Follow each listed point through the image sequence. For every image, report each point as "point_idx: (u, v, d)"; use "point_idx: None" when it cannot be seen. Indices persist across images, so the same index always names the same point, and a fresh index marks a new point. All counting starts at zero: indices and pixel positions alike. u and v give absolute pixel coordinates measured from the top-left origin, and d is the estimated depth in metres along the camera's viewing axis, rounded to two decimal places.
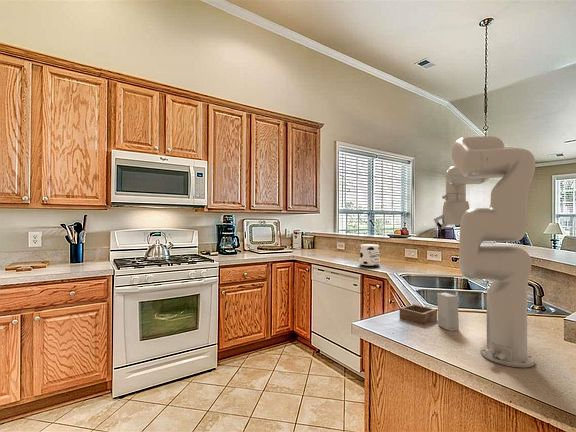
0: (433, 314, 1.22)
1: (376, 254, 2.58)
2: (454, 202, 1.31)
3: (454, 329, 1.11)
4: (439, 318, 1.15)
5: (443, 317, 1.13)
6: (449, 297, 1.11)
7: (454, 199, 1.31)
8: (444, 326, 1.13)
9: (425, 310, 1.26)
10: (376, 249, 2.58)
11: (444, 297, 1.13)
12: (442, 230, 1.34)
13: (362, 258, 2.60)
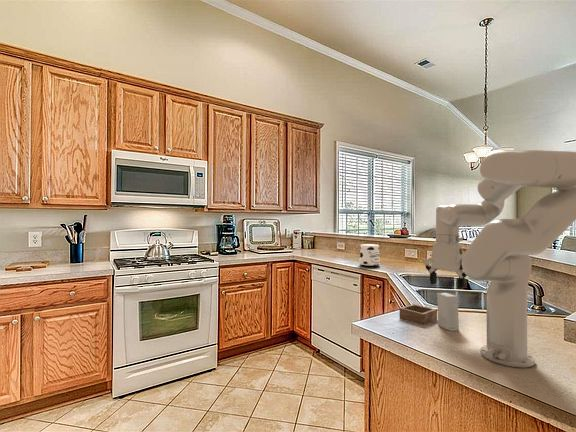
0: (433, 314, 1.22)
1: (376, 254, 2.58)
2: None
3: (454, 329, 1.11)
4: (439, 318, 1.15)
5: (443, 317, 1.13)
6: (449, 297, 1.11)
7: None
8: (444, 326, 1.13)
9: (425, 310, 1.26)
10: (376, 249, 2.58)
11: (444, 297, 1.13)
12: None
13: (362, 258, 2.60)
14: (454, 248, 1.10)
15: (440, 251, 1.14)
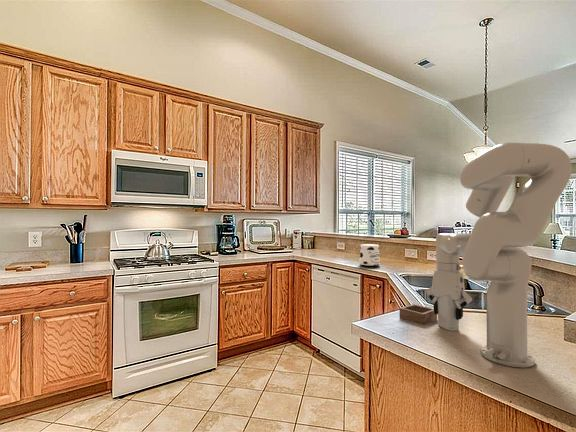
0: (433, 314, 1.22)
1: (376, 254, 2.58)
2: None
3: (454, 329, 1.11)
4: (439, 318, 1.15)
5: (443, 317, 1.13)
6: (449, 297, 1.11)
7: None
8: (444, 326, 1.13)
9: (425, 310, 1.26)
10: (376, 249, 2.58)
11: (444, 297, 1.13)
12: None
13: (362, 258, 2.60)
14: (455, 277, 1.10)
15: (440, 279, 1.14)
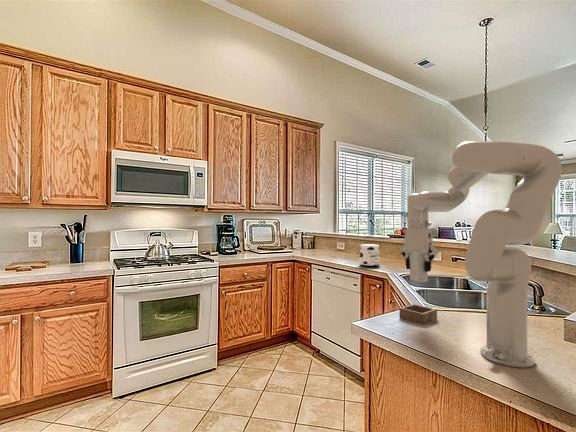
0: (433, 314, 1.22)
1: (376, 254, 2.58)
2: None
3: (423, 280, 1.21)
4: (410, 272, 1.26)
5: (414, 270, 1.23)
6: (418, 251, 1.21)
7: None
8: (414, 278, 1.23)
9: (425, 310, 1.26)
10: (376, 249, 2.58)
11: (414, 252, 1.23)
12: None
13: (362, 258, 2.60)
14: (424, 232, 1.20)
15: (411, 236, 1.24)
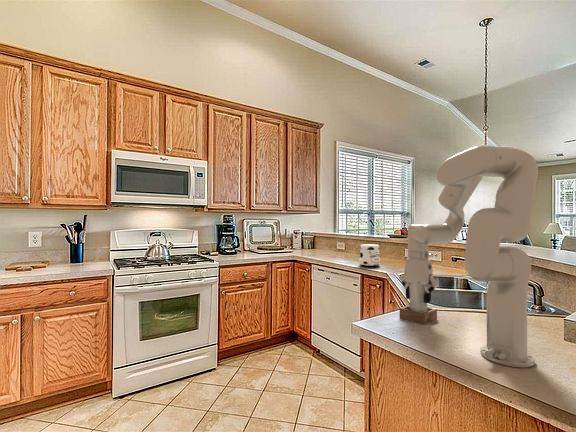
0: (433, 314, 1.22)
1: (376, 254, 2.58)
2: None
3: (423, 312, 1.21)
4: (410, 302, 1.26)
5: (414, 301, 1.23)
6: (418, 282, 1.21)
7: None
8: (414, 309, 1.23)
9: None
10: (376, 249, 2.58)
11: (414, 282, 1.23)
12: None
13: (362, 258, 2.60)
14: (424, 264, 1.20)
15: (411, 266, 1.24)
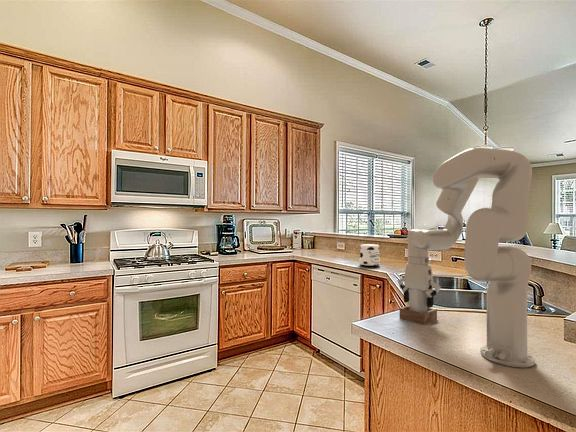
0: (433, 314, 1.22)
1: (376, 254, 2.58)
2: None
3: None
4: None
5: (414, 309, 1.23)
6: (418, 290, 1.21)
7: None
8: None
9: None
10: (376, 249, 2.58)
11: (414, 291, 1.23)
12: None
13: (362, 258, 2.60)
14: (424, 269, 1.20)
15: (411, 272, 1.24)
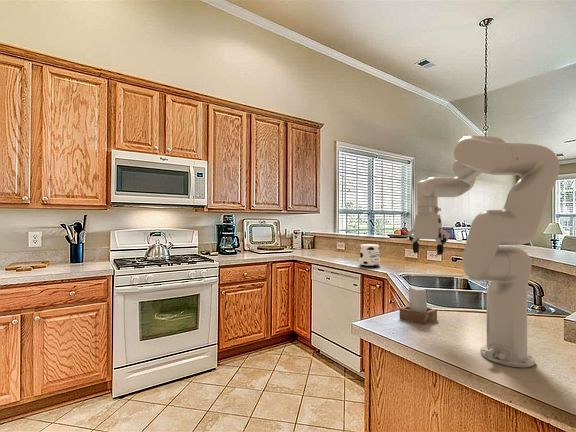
0: (433, 314, 1.22)
1: (376, 254, 2.58)
2: None
3: None
4: None
5: (414, 309, 1.23)
6: (418, 290, 1.21)
7: None
8: None
9: None
10: (376, 249, 2.58)
11: (414, 291, 1.23)
12: None
13: (362, 258, 2.60)
14: (434, 218, 1.23)
15: (421, 221, 1.26)
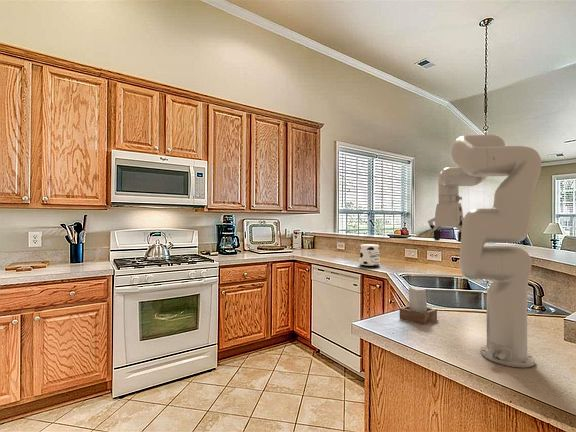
0: (433, 314, 1.22)
1: (376, 254, 2.58)
2: None
3: None
4: None
5: (414, 309, 1.23)
6: (418, 290, 1.21)
7: None
8: None
9: None
10: (376, 249, 2.58)
11: (414, 291, 1.23)
12: None
13: (362, 258, 2.60)
14: (455, 206, 1.28)
15: (442, 210, 1.31)
